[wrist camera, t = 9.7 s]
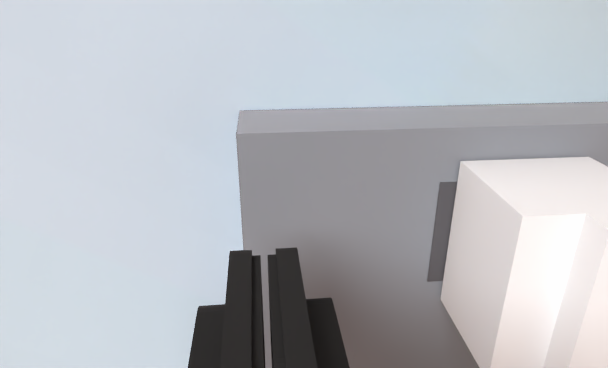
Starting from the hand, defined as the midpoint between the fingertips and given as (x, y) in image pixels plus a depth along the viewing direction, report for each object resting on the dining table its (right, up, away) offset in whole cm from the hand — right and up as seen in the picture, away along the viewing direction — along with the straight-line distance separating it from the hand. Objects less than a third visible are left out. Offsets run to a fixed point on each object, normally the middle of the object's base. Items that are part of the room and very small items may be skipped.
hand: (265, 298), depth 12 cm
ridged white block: (+8, +1, +3) cm, 8 cm away
